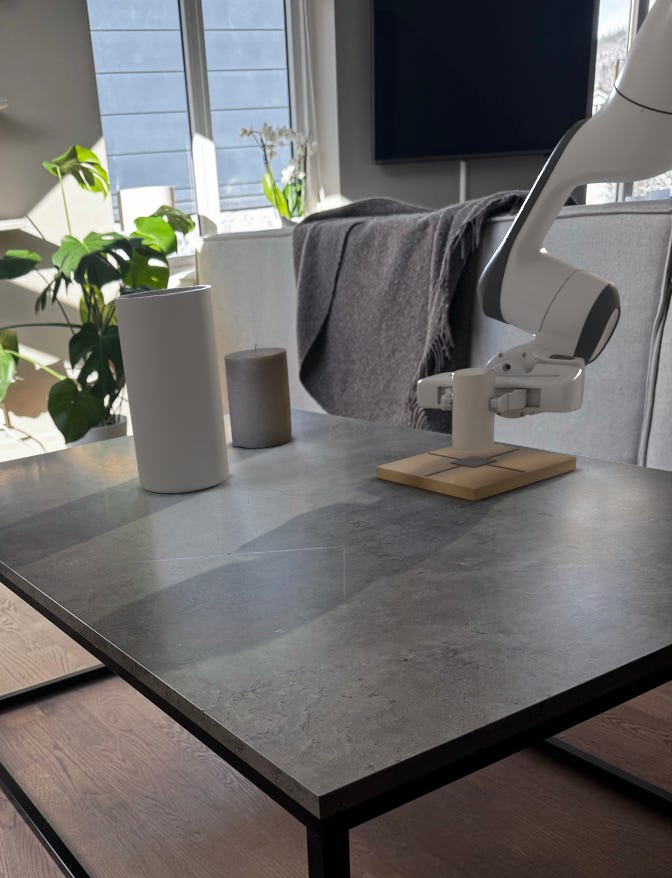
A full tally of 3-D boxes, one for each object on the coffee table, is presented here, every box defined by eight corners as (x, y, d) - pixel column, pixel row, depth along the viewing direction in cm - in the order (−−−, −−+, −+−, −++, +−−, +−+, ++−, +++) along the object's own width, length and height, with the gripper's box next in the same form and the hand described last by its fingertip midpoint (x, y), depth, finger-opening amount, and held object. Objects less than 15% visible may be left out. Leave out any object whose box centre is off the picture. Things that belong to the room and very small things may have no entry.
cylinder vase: (142, 499, 121) (114, 301, 111) (138, 477, 133) (113, 295, 123) (235, 487, 122) (216, 288, 112) (223, 466, 133) (205, 283, 123)
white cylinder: (490, 439, 116) (492, 366, 112) (496, 448, 111) (498, 372, 107) (450, 442, 116) (450, 369, 113) (454, 451, 112) (454, 376, 108)
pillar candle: (292, 432, 149) (286, 336, 143) (293, 445, 140) (286, 344, 134) (233, 437, 150) (224, 343, 144) (230, 451, 142) (220, 351, 136)
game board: (576, 469, 112) (576, 456, 111) (474, 501, 105) (474, 487, 104) (472, 450, 126) (472, 439, 125) (376, 477, 118) (376, 465, 118)
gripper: (443, 358, 125) (393, 377, 116) (597, 357, 113) (555, 379, 103) (443, 404, 128) (394, 426, 119) (594, 409, 115) (552, 434, 106)
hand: (470, 404), depth 111 cm, fingers closed on white cylinder, 5 cm apart
